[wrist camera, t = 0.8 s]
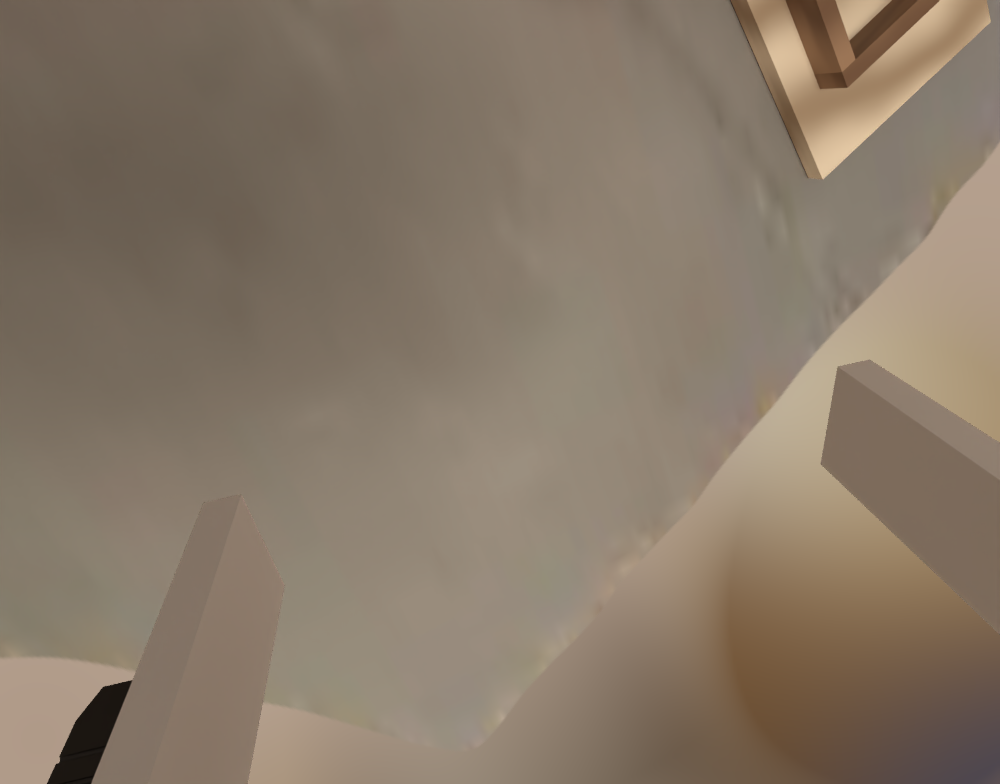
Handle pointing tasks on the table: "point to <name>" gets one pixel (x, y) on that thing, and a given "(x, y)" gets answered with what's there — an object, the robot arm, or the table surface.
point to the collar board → (850, 63)
